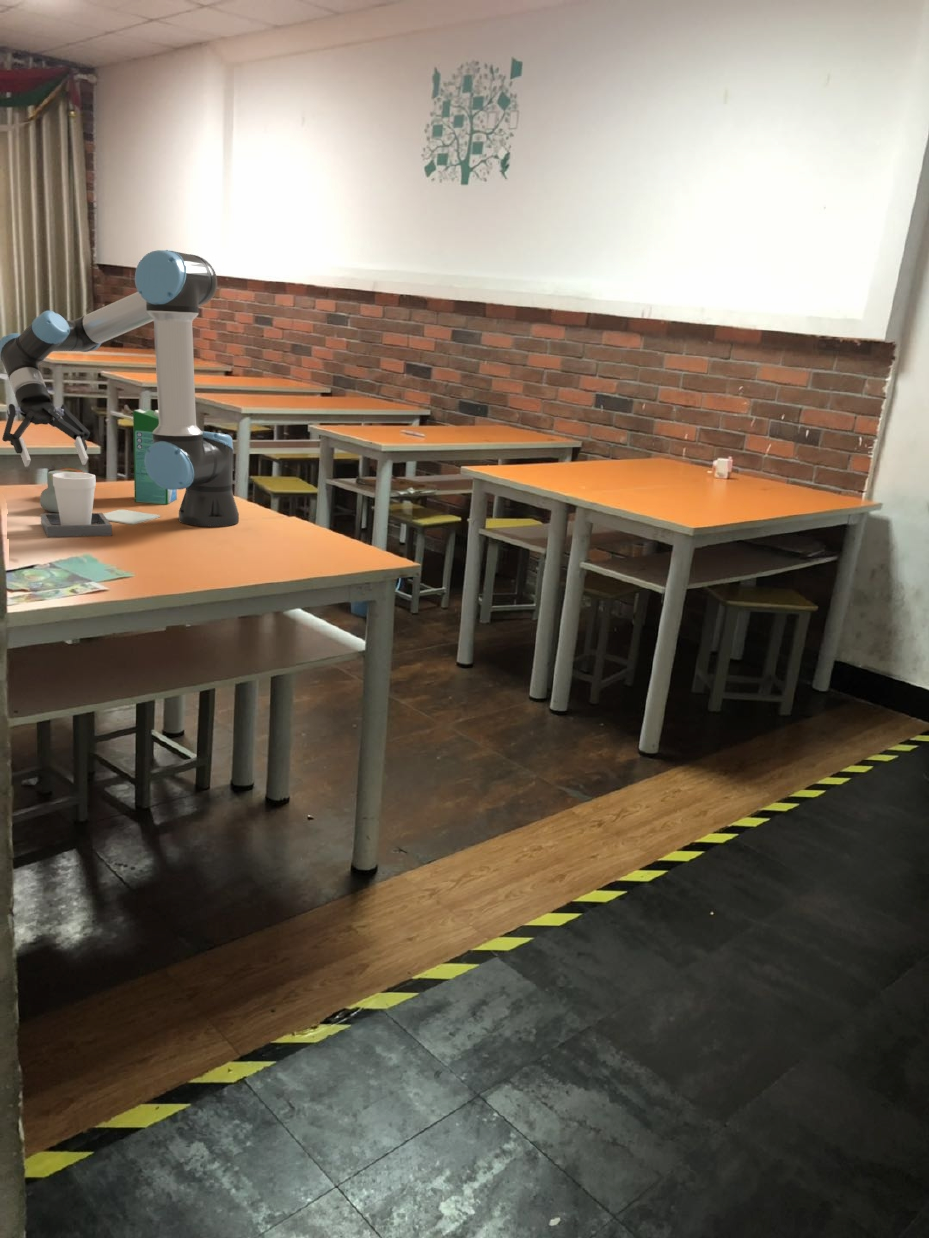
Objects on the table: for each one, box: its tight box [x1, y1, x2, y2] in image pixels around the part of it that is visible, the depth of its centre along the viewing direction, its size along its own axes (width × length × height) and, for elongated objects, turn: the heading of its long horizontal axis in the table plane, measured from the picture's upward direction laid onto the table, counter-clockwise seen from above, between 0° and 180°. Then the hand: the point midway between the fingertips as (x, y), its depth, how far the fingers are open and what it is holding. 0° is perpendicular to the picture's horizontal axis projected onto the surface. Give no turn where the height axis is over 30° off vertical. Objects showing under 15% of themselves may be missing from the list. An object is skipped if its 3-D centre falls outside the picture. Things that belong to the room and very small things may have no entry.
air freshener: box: [39, 470, 68, 514], centre depth 245 cm, size 11×8×10 cm
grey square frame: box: [40, 512, 113, 538], centre depth 228 cm, size 14×14×2 cm
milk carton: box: [132, 407, 178, 505], centre depth 265 cm, size 9×9×25 cm
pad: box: [103, 509, 162, 526], centre depth 245 cm, size 12×12×1 cm
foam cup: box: [53, 472, 97, 525], centre depth 226 cm, size 10×9×13 cm
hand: (57, 462), depth 229 cm, fingers open, 13 cm apart
